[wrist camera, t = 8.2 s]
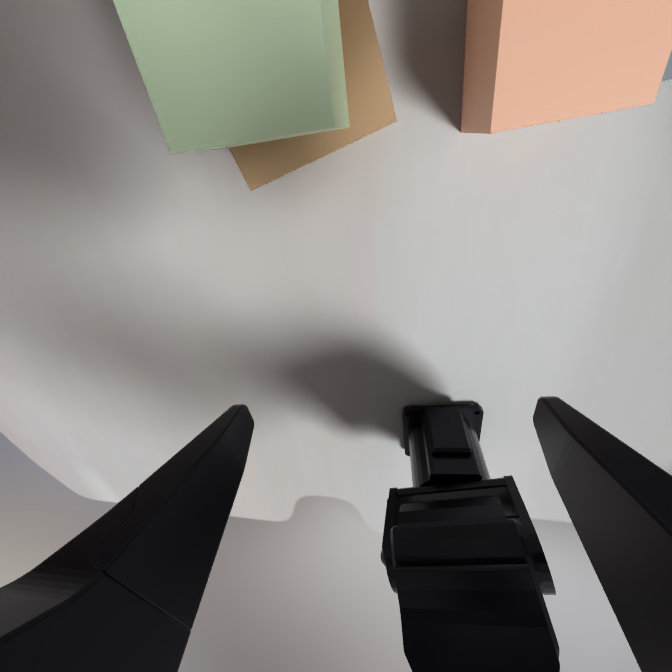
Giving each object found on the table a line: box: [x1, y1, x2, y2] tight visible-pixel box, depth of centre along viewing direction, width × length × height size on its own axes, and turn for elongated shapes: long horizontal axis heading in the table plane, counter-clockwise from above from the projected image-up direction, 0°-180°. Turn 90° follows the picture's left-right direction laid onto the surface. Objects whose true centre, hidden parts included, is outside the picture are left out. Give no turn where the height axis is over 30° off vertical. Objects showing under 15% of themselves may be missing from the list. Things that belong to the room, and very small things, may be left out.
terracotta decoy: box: [461, 0, 672, 134], centre depth 11 cm, size 5×5×5 cm
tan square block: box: [229, 0, 397, 190], centre depth 13 cm, size 7×7×4 cm
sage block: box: [113, 0, 350, 154], centre depth 9 cm, size 5×5×5 cm
